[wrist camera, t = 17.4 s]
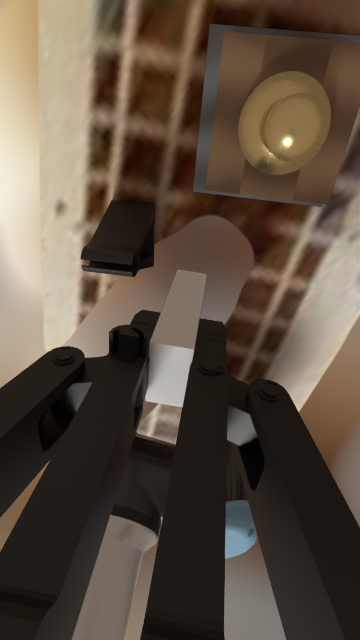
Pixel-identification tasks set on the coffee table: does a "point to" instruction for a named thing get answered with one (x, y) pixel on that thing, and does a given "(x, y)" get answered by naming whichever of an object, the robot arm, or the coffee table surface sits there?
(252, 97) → the brass pin
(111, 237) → the phone stand
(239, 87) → the walnut block
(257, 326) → the coffee table surface
